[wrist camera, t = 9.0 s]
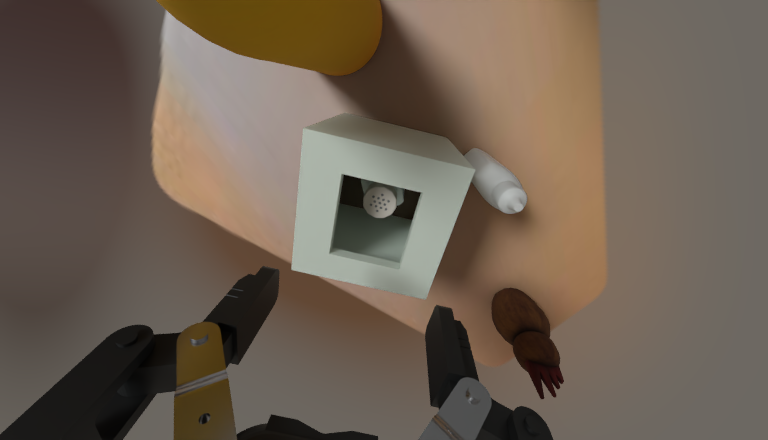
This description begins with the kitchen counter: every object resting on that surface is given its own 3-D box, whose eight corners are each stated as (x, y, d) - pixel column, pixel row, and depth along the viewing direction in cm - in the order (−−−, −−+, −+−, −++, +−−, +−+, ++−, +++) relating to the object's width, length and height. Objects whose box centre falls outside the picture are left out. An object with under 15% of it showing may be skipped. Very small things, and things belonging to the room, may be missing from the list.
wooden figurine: (478, 299, 41) (513, 402, 27) (505, 274, 39) (559, 373, 25) (511, 319, 42) (561, 427, 29) (539, 296, 40) (608, 402, 26)
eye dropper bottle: (496, 140, 31) (545, 167, 20) (502, 185, 33) (549, 231, 22) (458, 151, 32) (485, 182, 21) (466, 194, 34) (495, 243, 23)
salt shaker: (398, 154, 32) (396, 178, 24) (405, 186, 34) (405, 218, 25) (366, 162, 33) (353, 187, 24) (374, 192, 35) (364, 225, 26)
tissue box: (344, 112, 31) (303, 128, 18) (446, 137, 31) (475, 169, 18) (331, 206, 36) (291, 269, 23) (418, 227, 36) (425, 299, 24)
